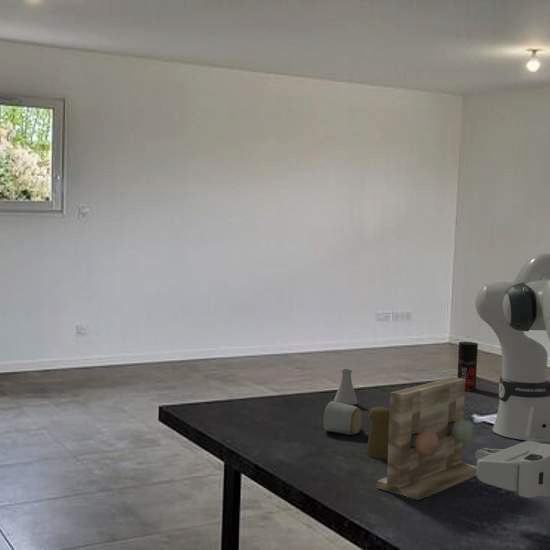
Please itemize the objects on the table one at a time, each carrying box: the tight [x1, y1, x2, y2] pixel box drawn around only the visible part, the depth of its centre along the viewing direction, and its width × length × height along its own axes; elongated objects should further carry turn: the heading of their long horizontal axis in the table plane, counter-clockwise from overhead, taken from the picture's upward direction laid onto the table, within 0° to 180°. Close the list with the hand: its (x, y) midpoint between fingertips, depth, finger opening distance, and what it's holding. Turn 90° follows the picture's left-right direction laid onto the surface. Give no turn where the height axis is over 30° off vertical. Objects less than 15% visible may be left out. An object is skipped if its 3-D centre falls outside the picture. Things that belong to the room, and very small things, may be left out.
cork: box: [365, 406, 390, 459], centre depth 184 cm, size 6×6×11 cm
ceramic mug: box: [323, 400, 363, 436], centre depth 204 cm, size 11×8×8 cm
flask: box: [333, 368, 359, 406], centre depth 235 cm, size 7×7×10 cm
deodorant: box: [456, 341, 479, 392], centre depth 259 cm, size 6×6×15 cm
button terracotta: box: [411, 431, 439, 456], centre depth 160 cm, size 7×5×5 cm, turn 47°
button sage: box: [448, 419, 475, 444], centre depth 171 cm, size 7×5×5 cm, turn 47°
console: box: [376, 376, 477, 501], centre depth 166 cm, size 10×24×20 cm, turn 137°
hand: (479, 453), depth 151 cm, fingers closed
